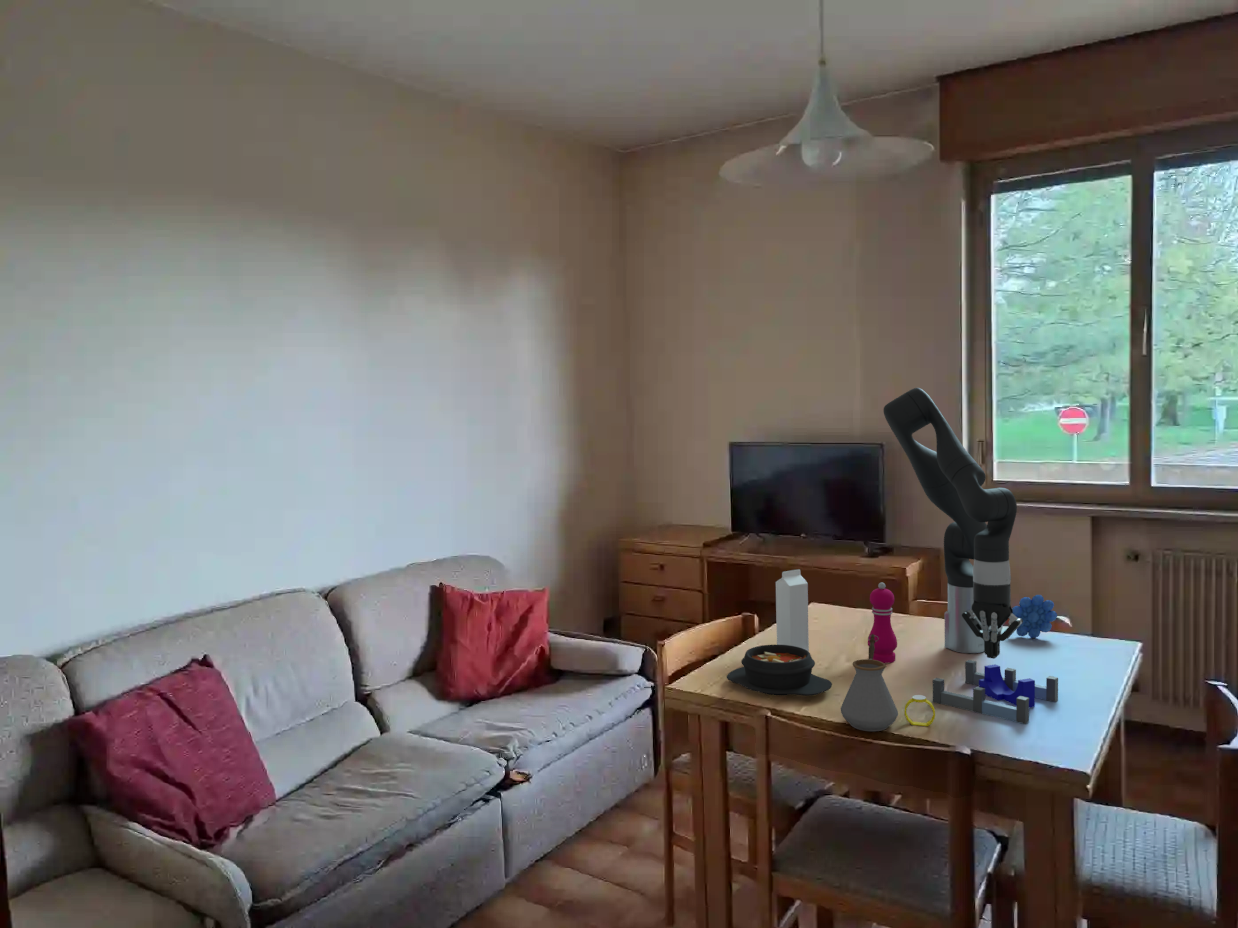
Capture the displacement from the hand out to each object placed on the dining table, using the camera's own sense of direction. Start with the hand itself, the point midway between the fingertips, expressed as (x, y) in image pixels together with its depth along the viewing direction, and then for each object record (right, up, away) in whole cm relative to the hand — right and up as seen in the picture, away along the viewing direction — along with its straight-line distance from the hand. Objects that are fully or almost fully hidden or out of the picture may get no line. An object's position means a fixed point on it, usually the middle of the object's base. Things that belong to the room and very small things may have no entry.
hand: (992, 657), depth 193 cm
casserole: (-45, -10, +13) cm, 48 cm away
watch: (-20, -12, -12) cm, 26 cm away
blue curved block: (+3, -10, +1) cm, 10 cm away
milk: (-36, -8, +40) cm, 54 cm away
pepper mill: (-15, -8, +31) cm, 35 cm away
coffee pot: (-28, -11, -6) cm, 31 cm away
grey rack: (+1, -10, 0) cm, 10 cm away
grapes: (+31, -5, +46) cm, 56 cm away
